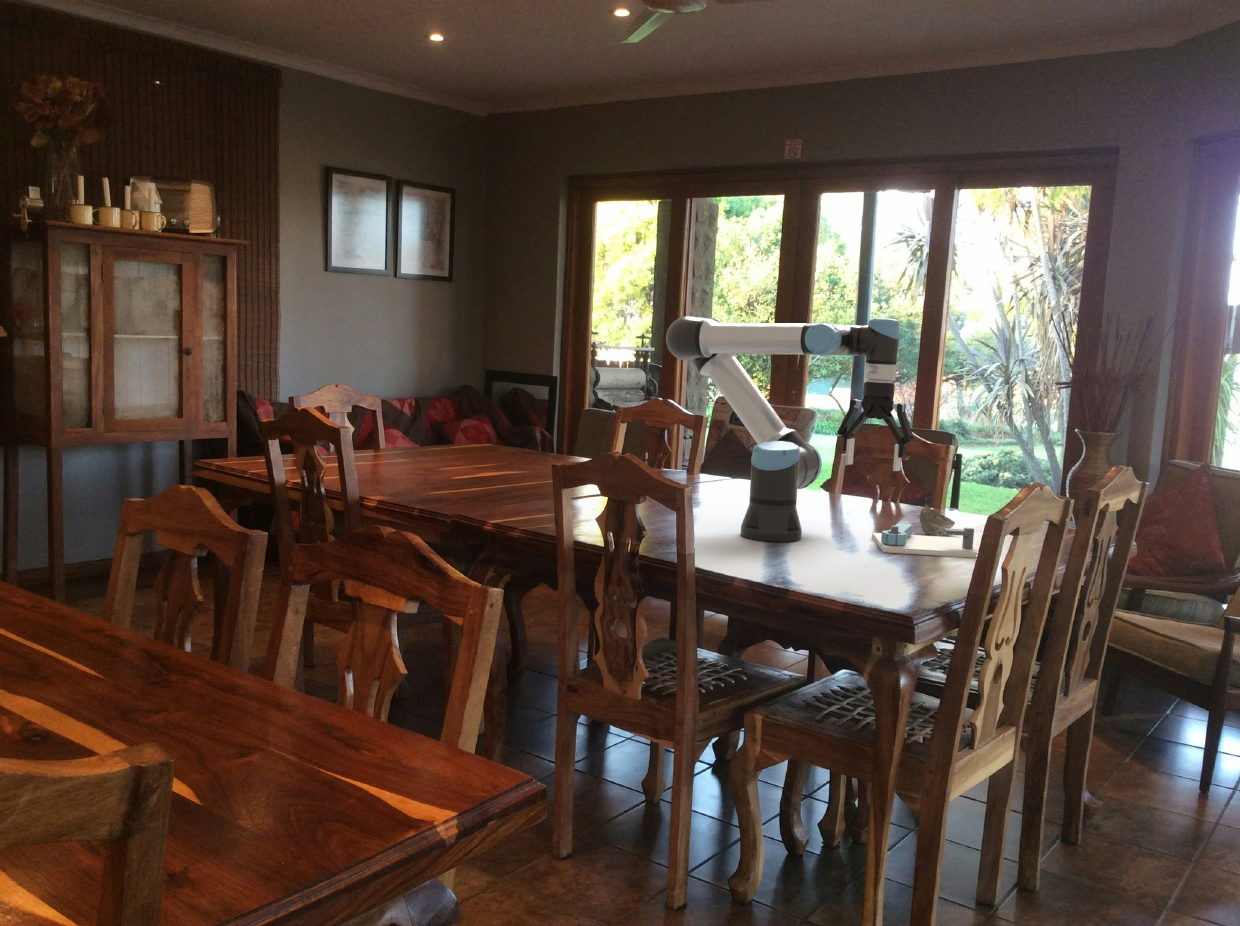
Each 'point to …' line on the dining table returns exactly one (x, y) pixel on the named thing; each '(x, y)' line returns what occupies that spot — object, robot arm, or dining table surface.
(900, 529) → the link
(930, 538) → the board
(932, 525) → the rock
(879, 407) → the robot arm
